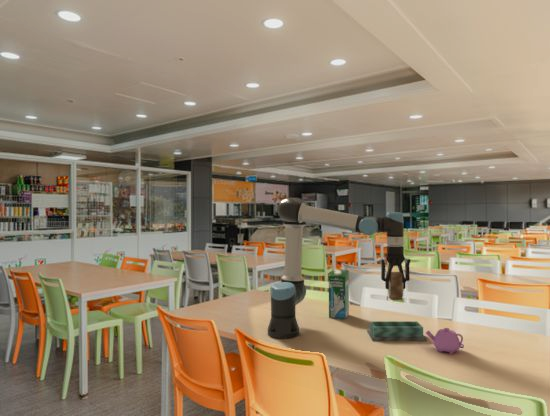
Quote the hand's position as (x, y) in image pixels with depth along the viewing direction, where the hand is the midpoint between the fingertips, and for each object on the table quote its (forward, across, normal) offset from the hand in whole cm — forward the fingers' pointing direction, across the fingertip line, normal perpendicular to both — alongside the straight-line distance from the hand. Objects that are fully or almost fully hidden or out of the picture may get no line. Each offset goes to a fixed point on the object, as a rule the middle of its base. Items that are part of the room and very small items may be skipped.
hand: (395, 295), depth 189 cm
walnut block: (+1, 0, 0) cm, 1 cm away
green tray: (+19, 0, 0) cm, 19 cm away
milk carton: (+19, -22, +34) cm, 44 cm away
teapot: (+19, +16, -18) cm, 30 cm away
